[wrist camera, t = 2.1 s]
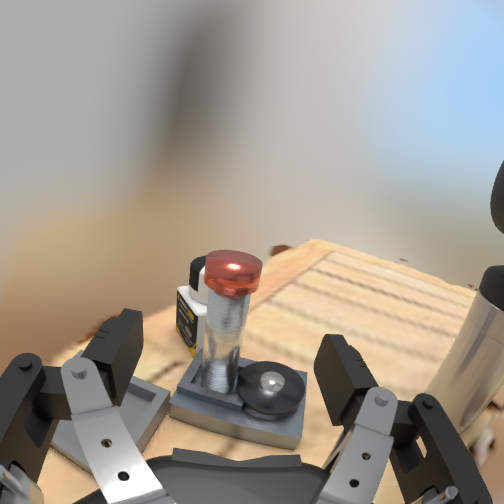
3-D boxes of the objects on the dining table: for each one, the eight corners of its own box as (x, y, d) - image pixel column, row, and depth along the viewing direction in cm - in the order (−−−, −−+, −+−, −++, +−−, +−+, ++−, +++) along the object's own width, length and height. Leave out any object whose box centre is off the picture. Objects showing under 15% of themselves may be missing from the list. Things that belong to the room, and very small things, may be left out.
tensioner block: (301, 386, 31) (312, 357, 29) (294, 450, 22) (309, 424, 20) (201, 361, 33) (204, 331, 31) (169, 416, 23) (167, 387, 22)
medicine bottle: (175, 328, 38) (178, 252, 35) (217, 321, 42) (227, 249, 39) (194, 359, 33) (200, 275, 29) (241, 347, 37) (255, 269, 33)
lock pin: (243, 373, 29) (266, 257, 24) (233, 402, 24) (256, 276, 20) (204, 362, 29) (216, 246, 25) (190, 389, 25) (197, 262, 21)
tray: (170, 405, 25) (170, 391, 24) (118, 489, 14) (112, 480, 13) (85, 365, 27) (81, 350, 26) (25, 423, 15) (15, 409, 15)
